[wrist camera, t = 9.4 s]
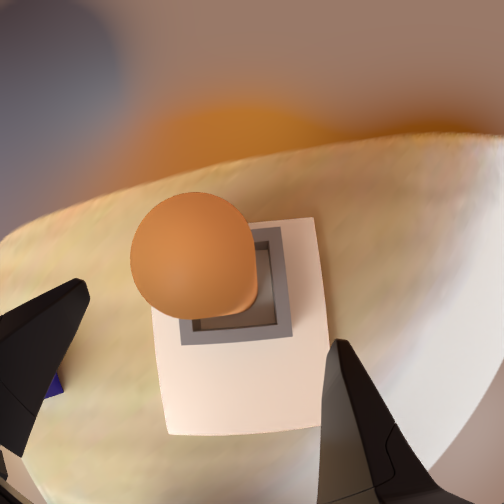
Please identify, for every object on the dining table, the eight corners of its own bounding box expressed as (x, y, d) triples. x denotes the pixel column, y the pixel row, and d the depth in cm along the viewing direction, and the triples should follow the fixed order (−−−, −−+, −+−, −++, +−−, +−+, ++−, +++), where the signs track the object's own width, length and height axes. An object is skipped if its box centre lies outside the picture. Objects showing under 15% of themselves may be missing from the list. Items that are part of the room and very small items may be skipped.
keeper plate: (330, 418, 18) (343, 436, 14) (172, 429, 18) (157, 447, 15) (311, 221, 21) (320, 204, 18) (153, 237, 21) (135, 224, 18)
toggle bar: (266, 301, 19) (278, 284, 7) (222, 321, 19) (157, 339, 6) (245, 258, 19) (222, 172, 7) (203, 278, 19) (116, 226, 7)
